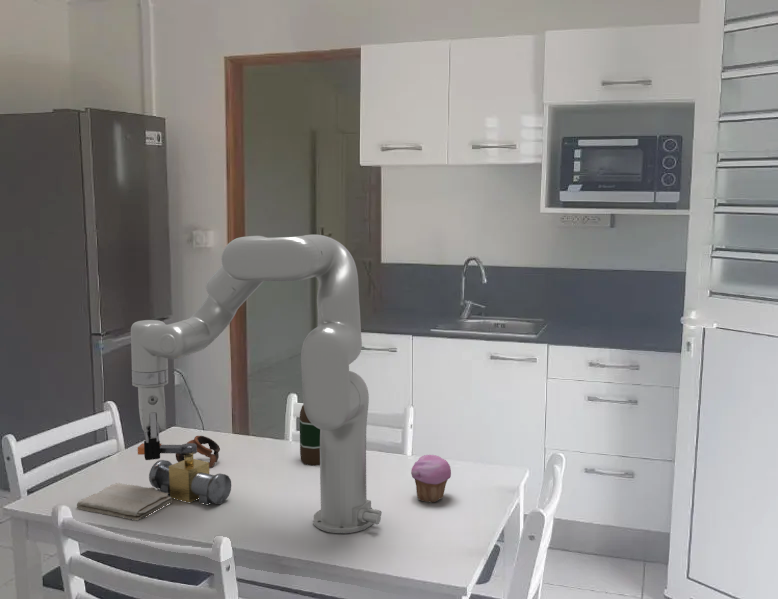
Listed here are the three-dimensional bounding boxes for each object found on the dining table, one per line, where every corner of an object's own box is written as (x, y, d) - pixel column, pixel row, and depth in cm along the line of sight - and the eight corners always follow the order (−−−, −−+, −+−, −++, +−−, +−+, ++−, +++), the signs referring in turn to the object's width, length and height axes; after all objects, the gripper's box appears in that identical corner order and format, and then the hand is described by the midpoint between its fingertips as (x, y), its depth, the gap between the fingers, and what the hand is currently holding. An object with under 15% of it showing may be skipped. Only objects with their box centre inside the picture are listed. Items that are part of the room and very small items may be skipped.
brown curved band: (191, 458, 201) (207, 432, 201) (215, 480, 197) (230, 453, 196) (160, 460, 191) (175, 432, 190) (183, 483, 186) (200, 454, 186)
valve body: (231, 499, 171) (230, 456, 170) (211, 509, 166) (210, 465, 165) (170, 484, 181) (169, 443, 180) (149, 492, 176) (147, 450, 175)
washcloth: (140, 524, 159) (139, 510, 159) (73, 511, 166) (73, 498, 166) (176, 504, 170) (175, 490, 170) (112, 492, 177) (112, 480, 177)
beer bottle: (329, 465, 193) (327, 372, 191) (298, 465, 194) (296, 372, 191) (331, 455, 201) (330, 366, 198) (302, 455, 201) (300, 366, 198)
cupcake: (425, 489, 177) (425, 447, 176) (458, 497, 172) (458, 454, 171) (404, 501, 170) (404, 457, 169) (437, 510, 165) (437, 465, 164)
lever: (194, 455, 170) (194, 448, 170) (137, 454, 171) (137, 448, 171) (198, 450, 174) (198, 443, 174) (142, 449, 174) (142, 443, 174)
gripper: (172, 383, 161) (173, 467, 164) (164, 369, 175) (166, 446, 177) (134, 386, 159) (137, 471, 161) (129, 371, 172) (132, 450, 175)
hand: (152, 458), depth 169 cm, fingers closed
